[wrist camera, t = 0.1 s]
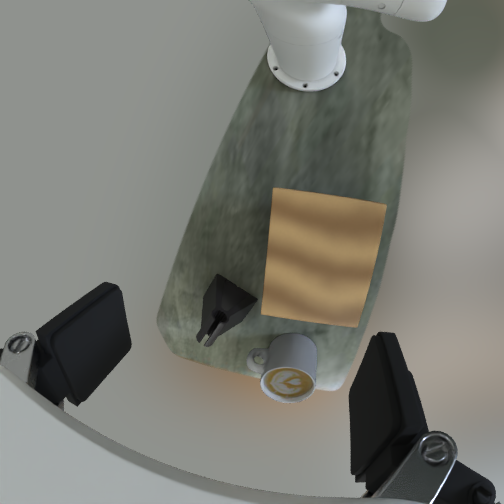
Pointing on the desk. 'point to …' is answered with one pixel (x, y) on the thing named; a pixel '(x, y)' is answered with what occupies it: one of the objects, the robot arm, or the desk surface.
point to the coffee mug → (287, 367)
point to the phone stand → (223, 308)
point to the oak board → (320, 256)
